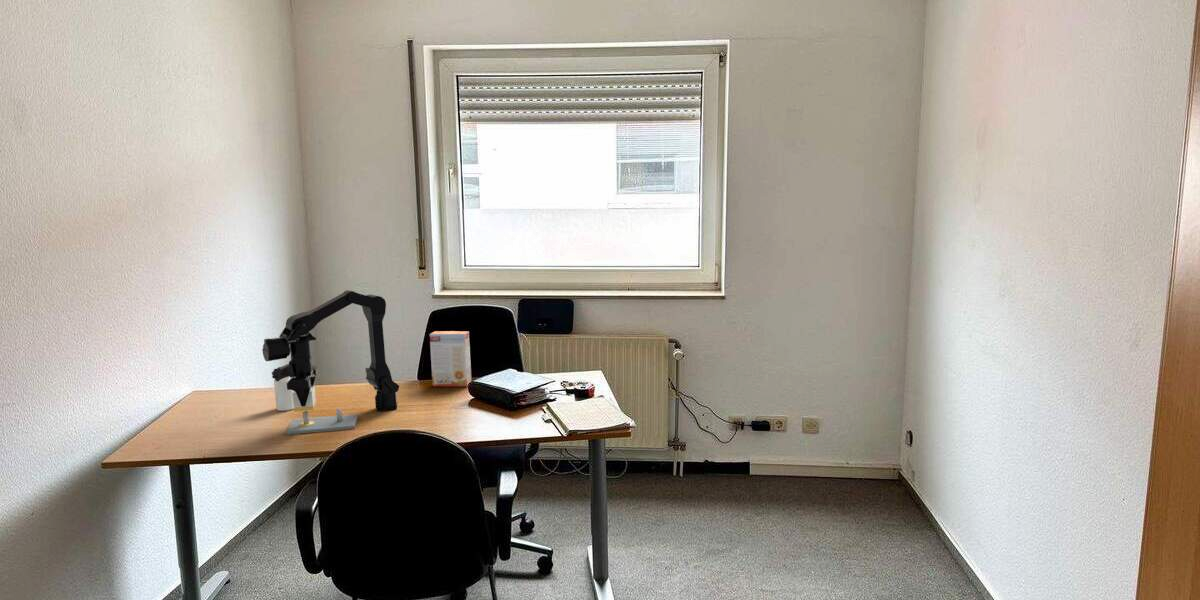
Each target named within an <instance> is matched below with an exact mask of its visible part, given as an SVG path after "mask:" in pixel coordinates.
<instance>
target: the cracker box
mask: <svg viewBox="0 0 1200 600" xmlns="http://www.w3.org/2000/svg"><path fill="white" fill-rule="evenodd" d="M429 347H430V348H429V349H430V361H431V363H430V364H431V380H432V386H433V387H461V388H462V387H463V388H465V387H468V386H469V385H470V384H469V383H470V382H471V381H472V367H471V366H472V364H471V344H470V331H466V330H465V331H464V330H463V331H462V330H461V331H459V330H457V331H456V330H455V331H454V330H449V331H448V330H446V331H445V330H444V331H443V330H442V331H441V330H439V331H438V330H435V331H433V332H431V333H429ZM468 384H469V385H468Z"/></svg>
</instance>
